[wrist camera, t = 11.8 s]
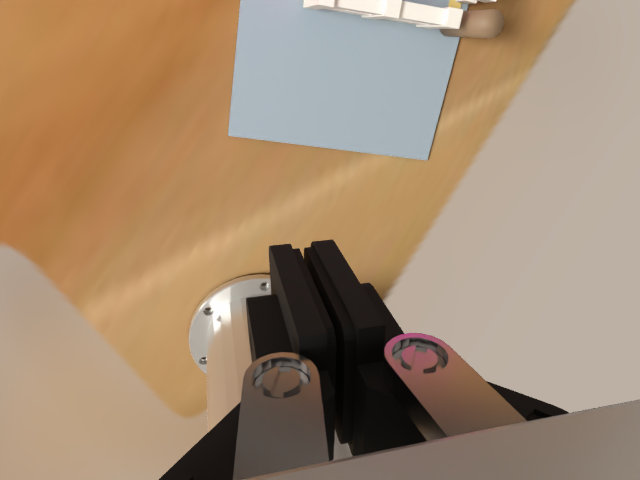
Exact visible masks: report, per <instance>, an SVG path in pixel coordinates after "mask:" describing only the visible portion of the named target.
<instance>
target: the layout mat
mask: <svg viewBox="0 0 640 480" xmlns="http://www.w3.org/2000/svg"><path fill="white" fill-rule="evenodd" d="M402 1H406V2H412V3H417V4H423V5H428V6H433V7H439V8H446V7H452V8H458V9H463V11H467V8H468V4H463V3H459V2H455V1H456V0H402ZM303 4H304V0H241V1H240V11H239V22H238V33H237V43H236V54H235V65H234V76H233V86H232V97H231V108H230V119H229V129H228V136H234V137H242V138H250V139H259V140H267V141H275V142H283V143H291V144H299V145H307V146H315V147H323V148H331V149H339V150H347V151H355V152H363V153H371V154H380V155H388V156H396V157H404V158H412V159H420V160H428V156H429V152H430V148H431V145H432V141H433V137H434V133H435V129H436V126H437V122H438V118H439V114H440V111H441V107H442V103H443V99H444V95H445V92H446V88H447V84H448V80H449V76H450V73H451V69H452V65H453V61H454V58H455V54H456V50H457V46H458V42H459V39H460V37H447V36H444V35H443V34H442V33H441V32H440V30H439V29H426V28H420V27H416V25H415V24H409V23H403V22H397V21H391V20H385V19H376V20H373V19H367V18H361V16H362V15H356V14H350V13H344V12H338V11H333V10H327V9H319V10H314V9H308V8H303Z"/></svg>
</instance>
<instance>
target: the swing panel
mask: <svg viewBox="0 0 640 480" xmlns="http://www.w3.org/2000/svg"><path fill="white" fill-rule="evenodd" d="M303 8H308V9H314V10H319V9H327V10H333V11H338V12H344V13H350V14H356V15H362V16H361V18H367V19H373V20H376V19H385V20H391V21H397V22H403V23H409V24H415V25H416V27H420V28H426V29H459V28H460V24H461V19H462V15H463V9H458V8H452V7H446V8H439V7H433V6H428V5H423V4H417V3H412V2H406V1H402V0H304V4H303Z"/></svg>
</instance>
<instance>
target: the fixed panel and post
mask: <svg viewBox="0 0 640 480" xmlns="http://www.w3.org/2000/svg"><path fill="white" fill-rule="evenodd" d="M477 1H480V2H484V3H487V2H496V1H497V0H456V1H455V2H459V3H463V4H476V3H477ZM503 26H504V17H503V14H502V13H501V12H500V11H499V10H497V9H486V10H470V11H463V15H462V19H461V24H460V28H459V29H439V30H440V32H441V33H442V34H443V35H444V36H447V37H471V38H494V37H496V36H497V35H498V34H499V33H500V32H501V31H502V29H503Z"/></svg>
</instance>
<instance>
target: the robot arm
mask: <svg viewBox="0 0 640 480" xmlns="http://www.w3.org/2000/svg"><path fill="white" fill-rule="evenodd" d="M269 262H270V275H265V274H257V275H247V276H243V277H239V278H235V279H233V280H231V281H228V282H226V283H224V284H222V285H220V286H219V287H217V288H216V289H214V290H213V291H211V292H210V293H209V294H208V295H207V296H206V297H205V298H204V299H203V300H202V301H201V303H200V304H199V306H198V307H197V309H196V310H195V312H194V315H193V317H192V319H191V323H190V328H189V346H190V352H191V354H192V357H193V359H194V361H195V363H196V364H197V365H198V367H199V368H200V369H201V370H202V371H203V372H204V373H205V374H206V375H207V417H208V419H207V424H208V425H207V426H208V433H207V434H206V435H205V436H204V437H203V438H202V439H201V440H200V441H199V442H198V443H197V444H196V445H194V446H193V447H192V448H191V449H190V450H189V451H188V452H187V453H186V454H185V455H184V456H183V457H182V458H181V459H180V460H179V461H178V462H177V463H176V464H175V465H174V466H173V467H171V468H170V469H169V470H168V471H167V472H166V473H165V474H164V475H163V476H162V477H161V478H160V479H159V480H640V400H636V401H630V402H625V403H620V404H615V405H609V406H605V407H599V408H593V409H588V410H583V411H578V412H573V413H568V412H567V411H565V410H563V409H561V408H558V407H556V406H554V405H551V404H548V403H545V402H543V401H540V400H537V399H534V398H532V397H529V396H526V395H523V394H520V393H518V392H514V391H512V390H509V389H507V388H504V387H501V386H498V385H495V384H492V383H490V382H487V381H485V380H484V379H483V378H482V377H481V376H480V375H479V374H478V373H477V372H476V371H475V370H474V369H473V368H472V367H471V366H469V365H468V364H467V363H466V362H465V361H464V360H463V359H462V358H461V357H460V356H459V355H458V354H457V353H456V352H455V351H454V350H453V349H452V348H451V347H450V346H449V345H447V344H446V343H445V342H443V341H442V340H440V339H438V338H435V337H433V336H430V335H425V334H420V333H408V334H404V333H403V331H402V330H401V328H400V327H399V325H398V324H397V322H396V321H395V319H394V318H393V316H392V314H391V313H390V312H389V310H388V309H387V307H386V305H385V304H384V302H383V301H382V299H381V298H380V296H379V295H378V293H377V292H376V290H375V289H374V287H373V286H372V285H371V284H370V283H363V284H360V282H359V281H358V279H357V278H356V276H355V274H354V273H353V271H352V270H351V268H350V266H349V265H348V263H347V261H346V260H345V258H344V257H343V255H342V253H341V252H340V250H339V249H338V247H337V245H336V244H335V242H334V241H333V240H324V241H314V242H312V243H311V247H308V248H305V249H304V258H303V256H302V254H301V252H300V249H299V248H298V249H292V246H291V244H284V245H274V246H269ZM265 282H266V283H265ZM262 283H265V284H262ZM207 307H210V308H207Z"/></svg>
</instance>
